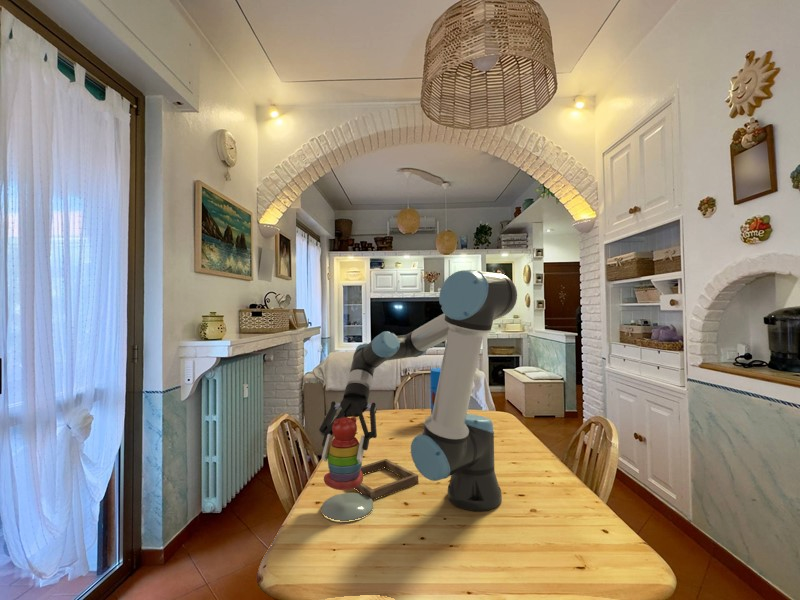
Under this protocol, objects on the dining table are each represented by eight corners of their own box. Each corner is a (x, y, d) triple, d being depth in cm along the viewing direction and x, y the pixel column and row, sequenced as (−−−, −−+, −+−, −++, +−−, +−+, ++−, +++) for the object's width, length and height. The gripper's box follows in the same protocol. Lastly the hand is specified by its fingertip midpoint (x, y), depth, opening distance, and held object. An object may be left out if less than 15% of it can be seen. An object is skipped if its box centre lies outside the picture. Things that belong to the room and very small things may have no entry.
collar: (418, 483, 119) (418, 475, 119) (371, 501, 108) (371, 492, 109) (386, 466, 133) (385, 458, 133) (341, 480, 122) (341, 472, 122)
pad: (383, 510, 103) (383, 506, 103) (337, 529, 95) (336, 524, 95) (356, 491, 114) (356, 488, 114) (312, 506, 106) (312, 503, 106)
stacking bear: (359, 471, 112) (358, 410, 113) (369, 486, 103) (368, 420, 103) (322, 478, 108) (321, 415, 109) (328, 494, 99) (328, 424, 99)
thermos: (455, 425, 179) (453, 371, 179) (432, 425, 179) (431, 371, 180) (452, 418, 189) (451, 368, 190) (430, 419, 190) (429, 368, 190)
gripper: (394, 395, 119) (383, 468, 103) (328, 394, 123) (307, 463, 107) (390, 381, 114) (378, 456, 98) (321, 380, 118) (299, 451, 102)
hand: (341, 460), depth 102 cm, fingers closed on stacking bear, 9 cm apart
